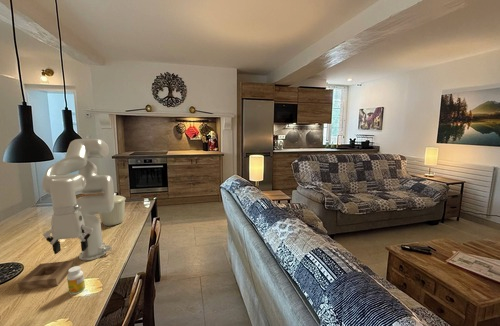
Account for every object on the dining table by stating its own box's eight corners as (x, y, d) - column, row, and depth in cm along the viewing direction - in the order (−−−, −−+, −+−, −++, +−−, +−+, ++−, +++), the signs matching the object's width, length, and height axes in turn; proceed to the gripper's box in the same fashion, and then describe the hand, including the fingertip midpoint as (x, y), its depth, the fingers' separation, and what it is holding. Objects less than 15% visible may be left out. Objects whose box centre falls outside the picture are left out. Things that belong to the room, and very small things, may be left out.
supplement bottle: (66, 293, 99) (62, 271, 98) (79, 285, 104) (76, 263, 103) (75, 296, 97) (71, 273, 96) (88, 287, 102) (85, 266, 101)
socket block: (74, 267, 117) (73, 260, 117) (57, 285, 104) (56, 278, 103) (41, 270, 115) (40, 263, 114) (19, 290, 101) (17, 282, 101)
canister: (96, 230, 158) (92, 199, 155) (100, 220, 175) (96, 192, 171) (127, 225, 166) (124, 195, 162) (128, 216, 182) (125, 188, 179)
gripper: (94, 205, 100) (98, 244, 103) (46, 208, 97) (52, 248, 100) (85, 211, 93) (90, 253, 95) (33, 214, 90) (40, 258, 92)
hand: (71, 250), depth 97 cm, fingers open, 9 cm apart
